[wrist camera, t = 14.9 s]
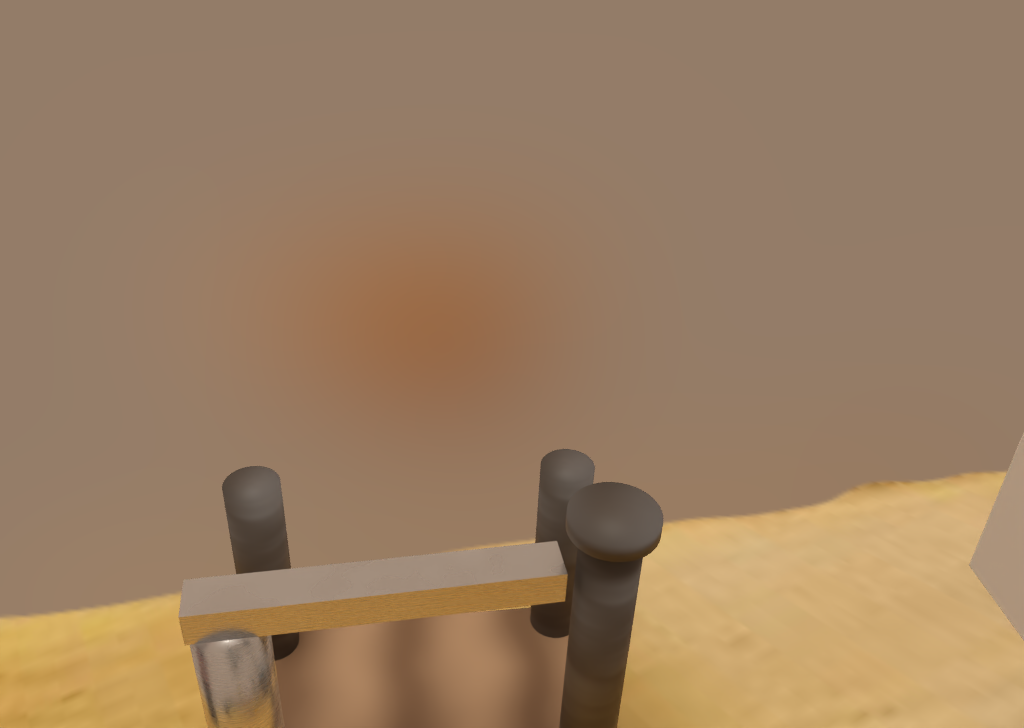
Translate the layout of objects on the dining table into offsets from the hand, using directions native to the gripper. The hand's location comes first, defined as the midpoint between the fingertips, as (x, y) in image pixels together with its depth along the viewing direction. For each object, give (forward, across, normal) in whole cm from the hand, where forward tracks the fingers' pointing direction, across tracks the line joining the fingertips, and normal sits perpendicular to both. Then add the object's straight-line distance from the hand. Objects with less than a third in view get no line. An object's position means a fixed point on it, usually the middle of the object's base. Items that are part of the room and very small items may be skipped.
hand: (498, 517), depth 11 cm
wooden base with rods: (+25, 0, -38) cm, 46 cm away
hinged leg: (+20, -2, -35) cm, 40 cm away
